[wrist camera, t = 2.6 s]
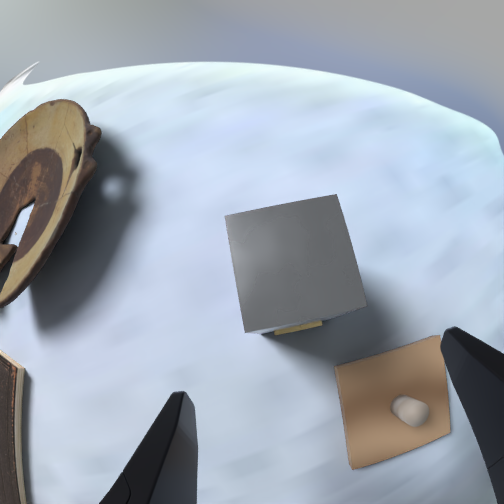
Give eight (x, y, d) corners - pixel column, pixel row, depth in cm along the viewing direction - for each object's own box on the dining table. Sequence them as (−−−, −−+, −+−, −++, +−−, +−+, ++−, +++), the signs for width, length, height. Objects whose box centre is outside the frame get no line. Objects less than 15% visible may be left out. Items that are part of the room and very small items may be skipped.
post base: (443, 428, 16) (470, 442, 12) (349, 463, 17) (362, 488, 13) (432, 335, 19) (461, 333, 15) (333, 366, 19) (346, 373, 15)
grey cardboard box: (331, 323, 20) (369, 313, 11) (260, 338, 20) (246, 340, 11) (314, 246, 21) (334, 188, 13) (246, 260, 22) (223, 209, 13)
